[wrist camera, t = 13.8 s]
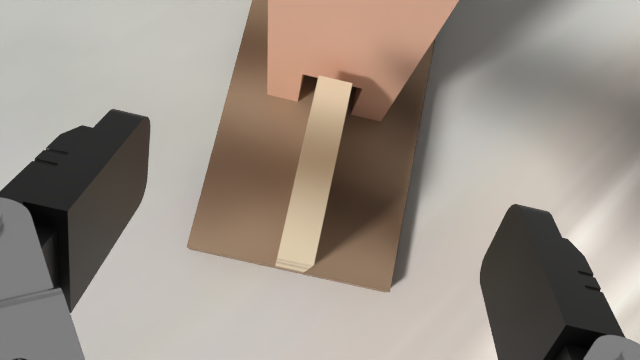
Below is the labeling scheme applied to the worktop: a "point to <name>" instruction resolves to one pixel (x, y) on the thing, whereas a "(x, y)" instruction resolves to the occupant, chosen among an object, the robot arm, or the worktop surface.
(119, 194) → the robot arm
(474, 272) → the worktop surface
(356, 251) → the ridged rail
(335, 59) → the slotted upright
